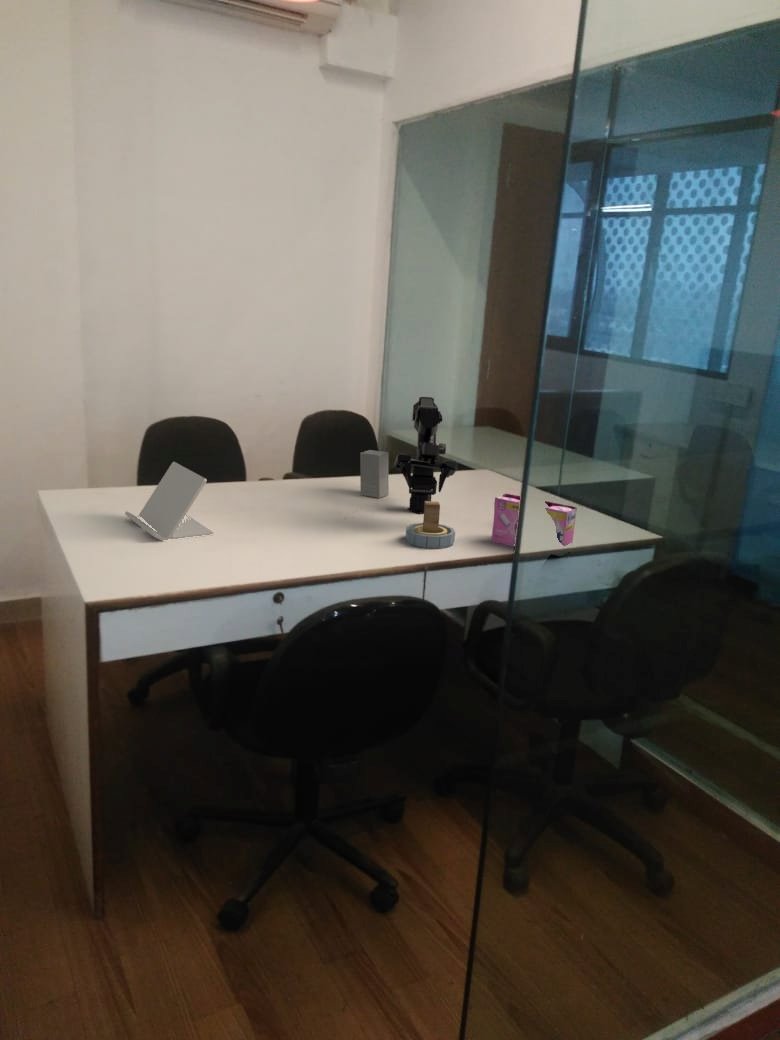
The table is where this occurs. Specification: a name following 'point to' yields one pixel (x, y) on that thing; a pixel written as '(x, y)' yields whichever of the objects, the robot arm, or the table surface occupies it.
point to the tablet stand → (173, 505)
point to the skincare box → (374, 473)
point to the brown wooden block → (431, 517)
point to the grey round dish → (430, 536)
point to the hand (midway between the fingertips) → (424, 490)
